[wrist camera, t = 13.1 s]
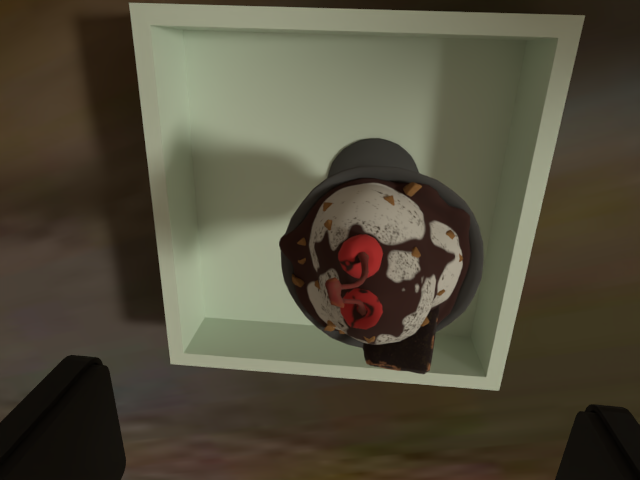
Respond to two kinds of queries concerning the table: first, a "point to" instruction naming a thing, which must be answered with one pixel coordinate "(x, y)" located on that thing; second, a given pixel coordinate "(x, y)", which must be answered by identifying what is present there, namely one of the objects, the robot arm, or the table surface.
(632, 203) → the table surface
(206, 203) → the box
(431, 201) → the sundae
